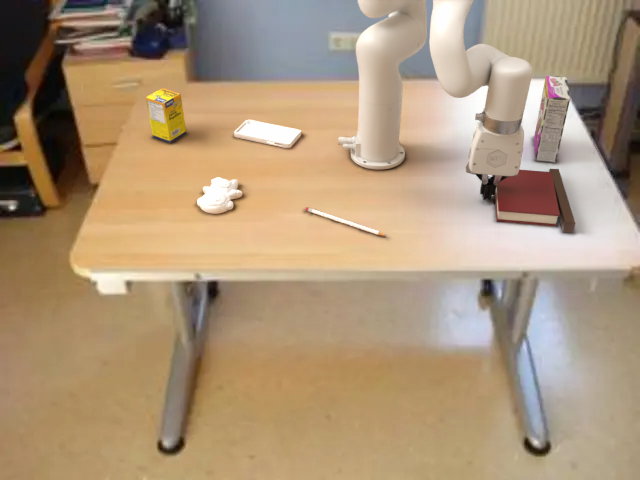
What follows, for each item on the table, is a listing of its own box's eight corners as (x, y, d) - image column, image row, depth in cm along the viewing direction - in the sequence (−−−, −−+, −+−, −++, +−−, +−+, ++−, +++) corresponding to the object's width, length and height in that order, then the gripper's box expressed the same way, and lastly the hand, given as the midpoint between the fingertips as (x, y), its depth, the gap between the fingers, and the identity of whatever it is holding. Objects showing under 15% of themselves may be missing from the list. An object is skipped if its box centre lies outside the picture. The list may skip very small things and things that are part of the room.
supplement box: (187, 133, 174) (181, 93, 167) (170, 144, 170) (164, 103, 163) (168, 127, 177) (162, 87, 170) (152, 137, 173) (145, 97, 166)
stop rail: (562, 232, 142) (565, 222, 140) (547, 177, 158) (549, 168, 156) (572, 232, 142) (575, 222, 140) (556, 178, 157) (558, 168, 156)
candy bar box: (532, 137, 172) (545, 74, 161) (553, 139, 171) (567, 76, 161) (533, 161, 163) (547, 96, 153) (556, 163, 162) (571, 98, 152)
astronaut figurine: (249, 186, 156) (248, 175, 154) (226, 217, 147) (225, 205, 145) (213, 179, 158) (212, 168, 156) (188, 209, 149) (187, 197, 147)
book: (496, 221, 145) (498, 209, 143) (493, 179, 157) (495, 167, 156) (556, 226, 144) (559, 214, 142) (548, 183, 156) (551, 171, 154)
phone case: (302, 134, 173) (247, 123, 178) (301, 129, 172) (247, 118, 177) (289, 149, 168) (233, 137, 173) (289, 144, 167) (233, 132, 172)
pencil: (307, 209, 148) (307, 206, 148) (387, 236, 141) (387, 233, 141) (305, 211, 148) (305, 208, 147) (385, 238, 140) (385, 235, 140)
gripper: (464, 127, 137) (451, 204, 148) (542, 133, 136) (523, 209, 147) (462, 108, 143) (450, 184, 154) (538, 114, 141) (520, 189, 153)
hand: (486, 196), depth 151 cm, fingers closed
